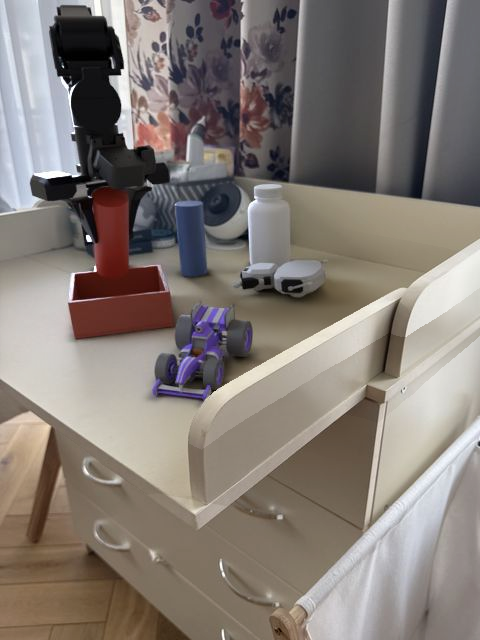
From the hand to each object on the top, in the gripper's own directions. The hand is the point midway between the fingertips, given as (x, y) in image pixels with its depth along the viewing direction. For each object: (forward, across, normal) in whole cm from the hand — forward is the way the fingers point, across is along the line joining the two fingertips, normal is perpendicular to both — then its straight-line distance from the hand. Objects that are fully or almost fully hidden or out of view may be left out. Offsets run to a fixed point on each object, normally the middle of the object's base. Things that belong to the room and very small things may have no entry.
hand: (112, 239), depth 80 cm
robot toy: (+12, +25, -9) cm, 30 cm away
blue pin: (+12, +20, +9) cm, 25 cm away
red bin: (+12, 0, 0) cm, 12 cm away
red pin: (+5, +1, +3) cm, 6 cm away
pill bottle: (+12, +34, +2) cm, 36 cm away
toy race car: (+12, -2, -23) cm, 26 cm away
